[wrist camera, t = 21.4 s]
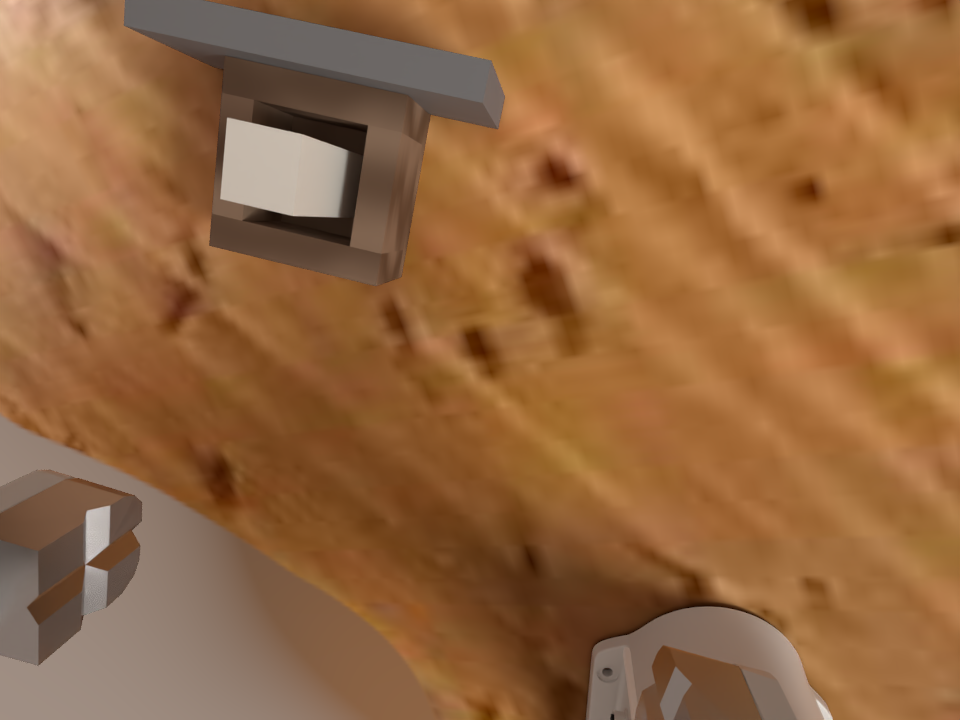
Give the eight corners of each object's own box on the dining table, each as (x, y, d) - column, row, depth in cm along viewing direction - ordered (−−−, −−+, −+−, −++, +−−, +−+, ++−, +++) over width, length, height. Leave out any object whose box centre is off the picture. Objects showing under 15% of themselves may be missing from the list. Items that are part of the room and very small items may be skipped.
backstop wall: (497, 129, 35) (482, 102, 28) (213, 67, 37) (123, 25, 29) (504, 96, 35) (491, 60, 27) (216, 34, 36) (125, -17, 29)
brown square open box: (401, 276, 39) (375, 286, 33) (259, 242, 40) (209, 245, 34) (430, 115, 36) (407, 94, 30) (276, 81, 37) (224, 55, 31)
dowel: (369, 158, 36) (302, 134, 27) (359, 218, 37) (292, 215, 28) (312, 145, 37) (227, 117, 27) (305, 205, 38) (220, 198, 28)
